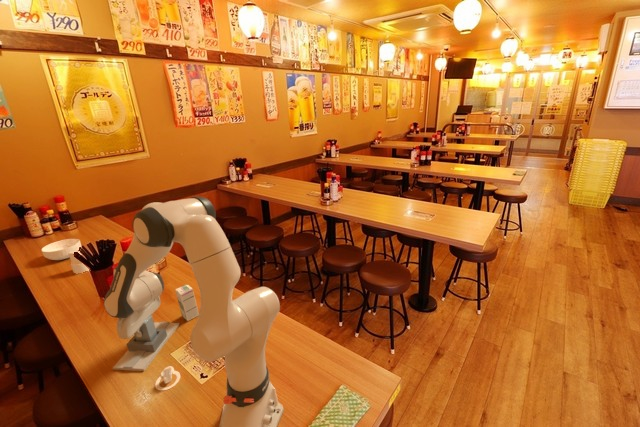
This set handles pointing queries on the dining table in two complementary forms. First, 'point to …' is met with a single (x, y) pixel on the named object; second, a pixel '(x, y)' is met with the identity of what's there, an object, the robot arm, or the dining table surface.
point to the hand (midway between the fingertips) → (145, 330)
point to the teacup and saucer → (167, 378)
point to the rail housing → (145, 348)
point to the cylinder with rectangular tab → (77, 263)
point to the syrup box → (187, 302)
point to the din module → (147, 331)
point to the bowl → (61, 249)
